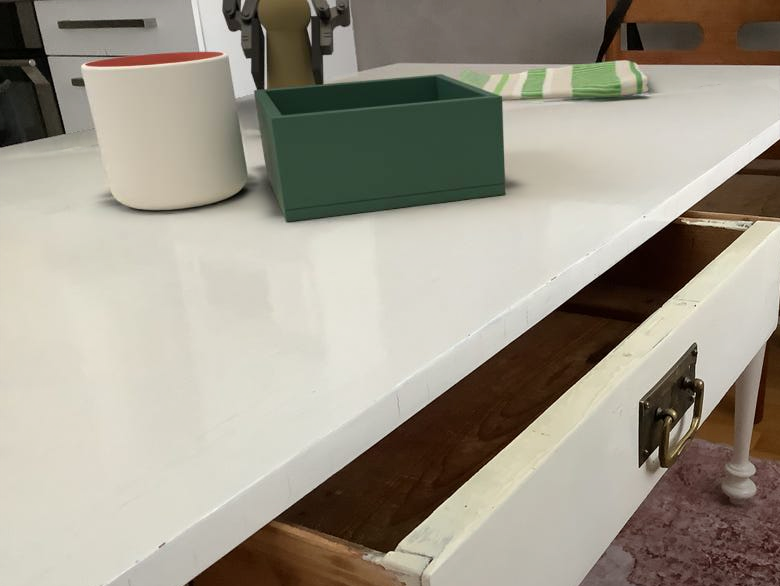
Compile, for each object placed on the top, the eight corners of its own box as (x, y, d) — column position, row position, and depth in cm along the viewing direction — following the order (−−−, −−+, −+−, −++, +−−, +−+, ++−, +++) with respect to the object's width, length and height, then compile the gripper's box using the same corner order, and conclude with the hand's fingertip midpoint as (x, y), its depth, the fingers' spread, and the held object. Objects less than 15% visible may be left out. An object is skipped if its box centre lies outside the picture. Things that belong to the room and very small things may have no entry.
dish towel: (463, 86, 115) (461, 65, 114) (636, 80, 113) (637, 58, 112) (448, 107, 99) (446, 82, 98) (650, 100, 97) (651, 75, 96)
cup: (276, 191, 65) (255, 53, 60) (156, 222, 58) (123, 70, 54) (205, 176, 71) (181, 49, 67) (89, 202, 64) (55, 64, 60)
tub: (266, 175, 70) (253, 90, 67) (447, 155, 74) (442, 73, 71) (286, 222, 57) (270, 118, 54) (505, 194, 61) (502, 96, 58)
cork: (260, 107, 89) (244, -6, 85) (315, 101, 92) (303, -9, 87) (275, 115, 84) (259, -5, 80) (333, 108, 87) (320, -8, 82)
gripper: (374, -73, 95) (383, 99, 87) (210, -66, 94) (204, 108, 86) (367, -132, 88) (377, 49, 80) (190, -126, 87) (182, 58, 79)
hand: (288, 79), depth 83 cm, fingers closed on cork, 5 cm apart
